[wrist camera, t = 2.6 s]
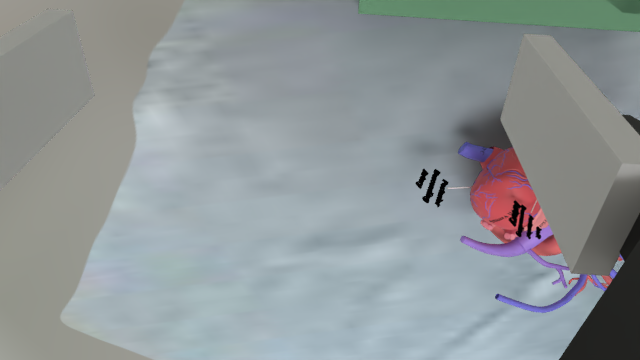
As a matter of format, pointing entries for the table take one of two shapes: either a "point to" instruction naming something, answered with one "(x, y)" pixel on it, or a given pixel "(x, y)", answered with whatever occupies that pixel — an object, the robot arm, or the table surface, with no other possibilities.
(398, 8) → the green
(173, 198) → the table surface
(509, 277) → the table surface
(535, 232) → the heart model
